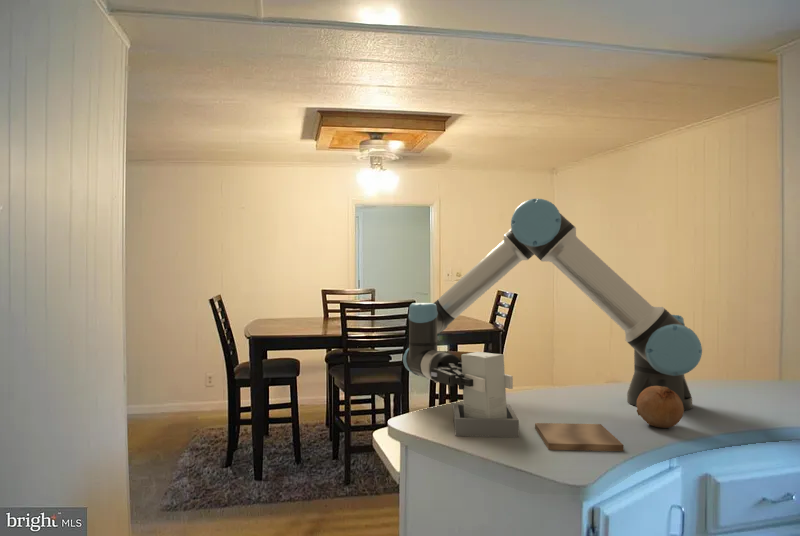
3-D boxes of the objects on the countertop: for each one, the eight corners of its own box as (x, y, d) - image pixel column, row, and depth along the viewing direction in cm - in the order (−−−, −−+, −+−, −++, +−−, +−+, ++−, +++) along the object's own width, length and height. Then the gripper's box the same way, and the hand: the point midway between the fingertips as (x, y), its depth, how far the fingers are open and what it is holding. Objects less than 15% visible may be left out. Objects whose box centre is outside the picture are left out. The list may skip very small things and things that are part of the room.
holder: (510, 419, 122) (510, 404, 122) (518, 437, 109) (518, 420, 109) (453, 418, 123) (453, 403, 123) (455, 435, 110) (455, 419, 110)
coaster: (600, 429, 114) (600, 424, 115) (623, 451, 101) (623, 444, 101) (535, 428, 115) (535, 422, 115) (548, 449, 101) (548, 443, 101)
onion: (674, 444, 114) (689, 408, 110) (629, 427, 118) (641, 391, 113) (676, 418, 122) (690, 383, 117) (633, 403, 125) (645, 369, 121)
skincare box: (507, 423, 114) (507, 354, 115) (486, 428, 111) (486, 356, 111) (481, 415, 121) (480, 350, 122) (460, 419, 118) (460, 352, 118)
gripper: (474, 378, 137) (534, 397, 116) (407, 386, 128) (458, 407, 107) (474, 349, 137) (533, 362, 116) (407, 355, 128) (458, 370, 108)
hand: (497, 384), depth 112 cm, fingers closed on skincare box, 6 cm apart
